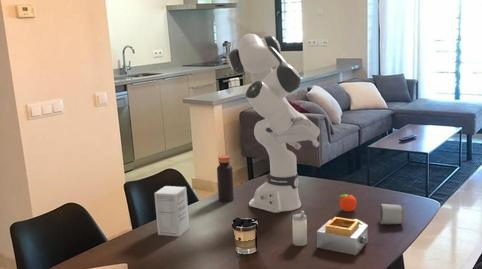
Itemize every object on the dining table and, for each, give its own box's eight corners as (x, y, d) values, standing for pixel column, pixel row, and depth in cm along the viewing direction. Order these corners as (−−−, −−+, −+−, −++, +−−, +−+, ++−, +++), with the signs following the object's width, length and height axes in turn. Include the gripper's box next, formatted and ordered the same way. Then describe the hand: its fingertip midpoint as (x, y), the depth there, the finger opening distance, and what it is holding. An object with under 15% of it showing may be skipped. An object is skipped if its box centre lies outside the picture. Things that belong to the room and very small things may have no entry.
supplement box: (190, 228, 206) (187, 186, 202) (180, 237, 197) (176, 194, 194) (168, 225, 209) (164, 185, 205) (157, 235, 200) (153, 192, 197)
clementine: (335, 212, 215) (335, 196, 213) (338, 207, 221) (338, 191, 220) (355, 214, 212) (355, 197, 210) (358, 208, 218) (358, 192, 217)
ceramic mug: (404, 226, 198) (404, 207, 196) (382, 227, 198) (382, 207, 197) (397, 217, 208) (398, 198, 207) (376, 217, 209) (377, 198, 207)
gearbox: (317, 247, 183) (316, 225, 181) (330, 235, 193) (329, 214, 191) (359, 255, 175) (359, 233, 174) (370, 242, 185) (371, 220, 184)
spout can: (290, 244, 187) (289, 212, 184) (296, 239, 191) (295, 207, 188) (303, 247, 184) (302, 214, 182) (309, 241, 188) (308, 209, 186)
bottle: (236, 198, 237) (234, 155, 233) (228, 203, 231) (226, 159, 227) (224, 196, 241) (221, 154, 236) (215, 201, 235) (213, 157, 231)
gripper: (307, 109, 172) (332, 137, 177) (269, 117, 189) (293, 142, 194) (299, 123, 169) (324, 151, 175) (261, 130, 186) (285, 155, 191)
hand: (308, 146), depth 185 cm, fingers open, 8 cm apart
